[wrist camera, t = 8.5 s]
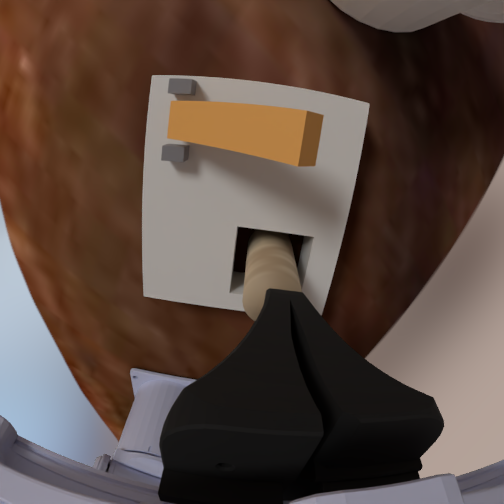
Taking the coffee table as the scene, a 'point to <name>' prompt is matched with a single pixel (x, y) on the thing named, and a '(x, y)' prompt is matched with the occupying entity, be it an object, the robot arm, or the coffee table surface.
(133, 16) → the coffee table surface
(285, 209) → the white flat block
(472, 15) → the mug
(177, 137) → the latch
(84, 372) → the coffee table surface
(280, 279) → the peg
